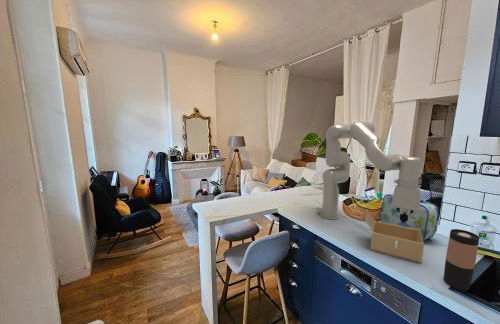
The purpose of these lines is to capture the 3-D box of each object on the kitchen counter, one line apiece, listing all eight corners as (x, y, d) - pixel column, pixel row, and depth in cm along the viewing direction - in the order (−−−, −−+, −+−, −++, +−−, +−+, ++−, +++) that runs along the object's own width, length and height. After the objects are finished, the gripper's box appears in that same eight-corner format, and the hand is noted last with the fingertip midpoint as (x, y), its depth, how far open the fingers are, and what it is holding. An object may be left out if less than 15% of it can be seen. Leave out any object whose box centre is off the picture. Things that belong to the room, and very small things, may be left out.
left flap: (373, 230, 102) (372, 230, 102) (374, 220, 113) (373, 220, 113) (364, 217, 103) (363, 217, 103) (366, 208, 114) (365, 209, 114)
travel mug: (438, 274, 85) (445, 227, 82) (462, 278, 83) (470, 230, 80) (449, 288, 78) (458, 237, 75) (476, 293, 76) (486, 240, 73)
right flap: (417, 225, 92) (419, 225, 92) (414, 215, 103) (415, 215, 103) (421, 241, 92) (423, 241, 92) (418, 229, 103) (419, 229, 103)
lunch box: (438, 241, 111) (444, 202, 107) (424, 245, 107) (430, 205, 104) (390, 221, 135) (393, 188, 131) (377, 223, 131) (381, 190, 128)
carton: (370, 252, 100) (371, 234, 99) (372, 236, 116) (373, 220, 114) (422, 266, 90) (425, 247, 89) (416, 246, 106) (419, 229, 104)
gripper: (388, 183, 98) (384, 221, 101) (430, 188, 90) (424, 229, 93) (388, 180, 105) (384, 215, 107) (427, 184, 97) (422, 222, 100)
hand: (403, 221), depth 100 cm, fingers closed
